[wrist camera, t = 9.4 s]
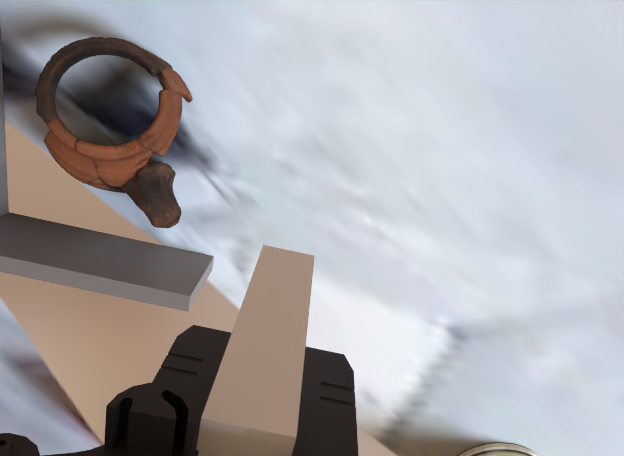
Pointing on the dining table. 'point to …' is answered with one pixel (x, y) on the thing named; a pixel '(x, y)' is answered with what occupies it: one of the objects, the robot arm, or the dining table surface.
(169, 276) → the box
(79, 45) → the pottery mug
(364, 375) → the dining table surface
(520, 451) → the coffee can
